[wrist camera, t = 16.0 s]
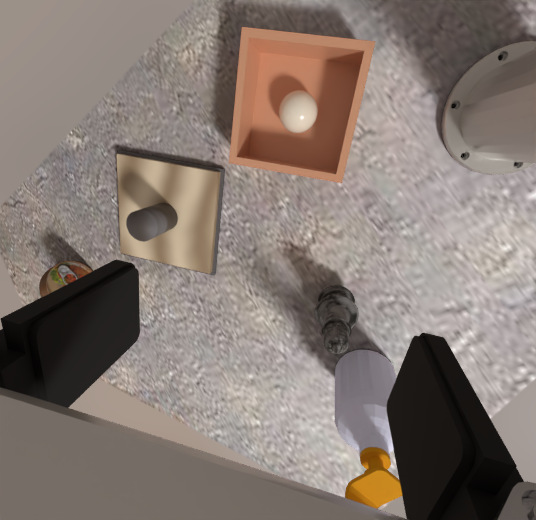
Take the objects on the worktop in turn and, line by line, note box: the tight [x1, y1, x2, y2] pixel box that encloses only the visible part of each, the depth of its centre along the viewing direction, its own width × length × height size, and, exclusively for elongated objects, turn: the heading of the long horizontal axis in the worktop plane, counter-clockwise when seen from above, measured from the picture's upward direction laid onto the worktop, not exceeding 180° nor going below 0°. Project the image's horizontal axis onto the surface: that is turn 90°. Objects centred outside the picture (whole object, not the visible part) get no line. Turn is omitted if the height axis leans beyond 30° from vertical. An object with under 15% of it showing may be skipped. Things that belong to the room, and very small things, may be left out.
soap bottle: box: [335, 350, 402, 509], centre depth 36 cm, size 9×9×25 cm
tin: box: [39, 261, 92, 297], centre depth 50 cm, size 15×3×8 cm, turn 27°
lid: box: [117, 154, 221, 274], centre depth 41 cm, size 15×15×7 cm
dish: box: [229, 27, 375, 183], centre depth 34 cm, size 13×13×6 cm
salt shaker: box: [315, 286, 359, 354], centre depth 39 cm, size 6×6×12 cm
